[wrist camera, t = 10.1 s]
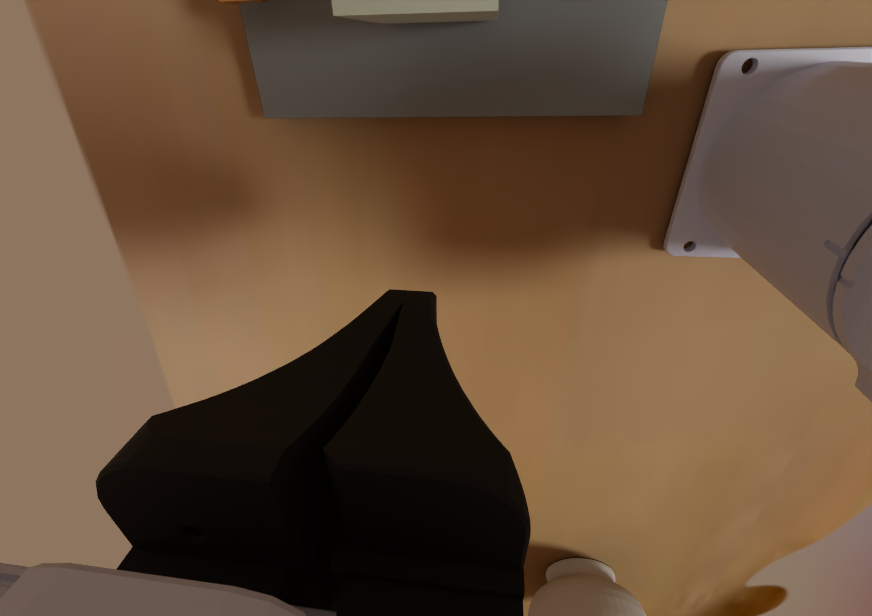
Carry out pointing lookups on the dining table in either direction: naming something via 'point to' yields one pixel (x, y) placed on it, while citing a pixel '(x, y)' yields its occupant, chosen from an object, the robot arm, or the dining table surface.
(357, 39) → the mounting board
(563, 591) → the teacup
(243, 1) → the rail
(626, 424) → the dining table surface
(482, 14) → the block
